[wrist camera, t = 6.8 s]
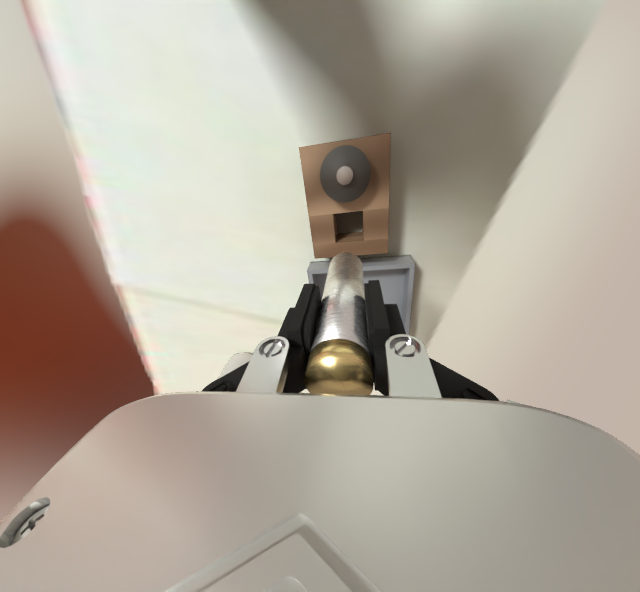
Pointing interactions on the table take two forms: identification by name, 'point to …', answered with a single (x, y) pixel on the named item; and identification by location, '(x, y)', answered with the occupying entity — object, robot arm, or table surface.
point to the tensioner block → (348, 193)
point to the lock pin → (341, 334)
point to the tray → (389, 272)
